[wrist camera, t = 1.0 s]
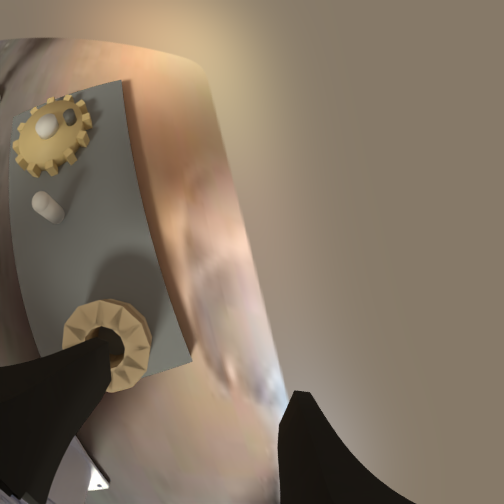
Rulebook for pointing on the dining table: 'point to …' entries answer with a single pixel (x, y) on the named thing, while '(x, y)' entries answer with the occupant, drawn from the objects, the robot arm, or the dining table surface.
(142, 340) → the wooden ring spacer
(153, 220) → the dining table surface
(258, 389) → the dining table surface
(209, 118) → the dining table surface
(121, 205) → the gear board
